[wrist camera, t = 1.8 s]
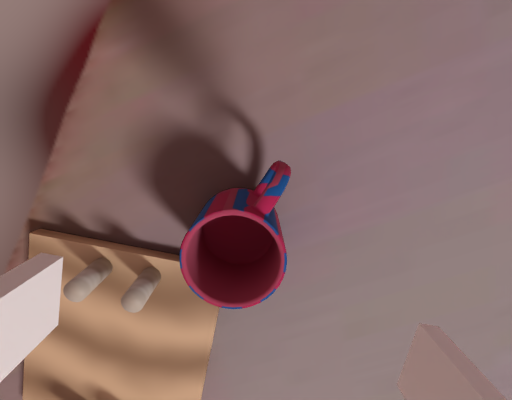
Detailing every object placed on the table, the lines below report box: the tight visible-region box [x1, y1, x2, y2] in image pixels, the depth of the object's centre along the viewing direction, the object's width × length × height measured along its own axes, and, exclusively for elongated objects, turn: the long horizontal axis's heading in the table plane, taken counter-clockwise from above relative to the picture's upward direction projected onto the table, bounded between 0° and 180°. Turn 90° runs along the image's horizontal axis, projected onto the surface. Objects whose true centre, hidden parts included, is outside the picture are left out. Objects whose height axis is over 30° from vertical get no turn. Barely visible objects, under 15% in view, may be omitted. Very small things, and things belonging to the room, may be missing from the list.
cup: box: [179, 161, 291, 309], centre depth 22 cm, size 7×10×7 cm
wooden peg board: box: [23, 229, 219, 400], centre depth 26 cm, size 18×16×5 cm
